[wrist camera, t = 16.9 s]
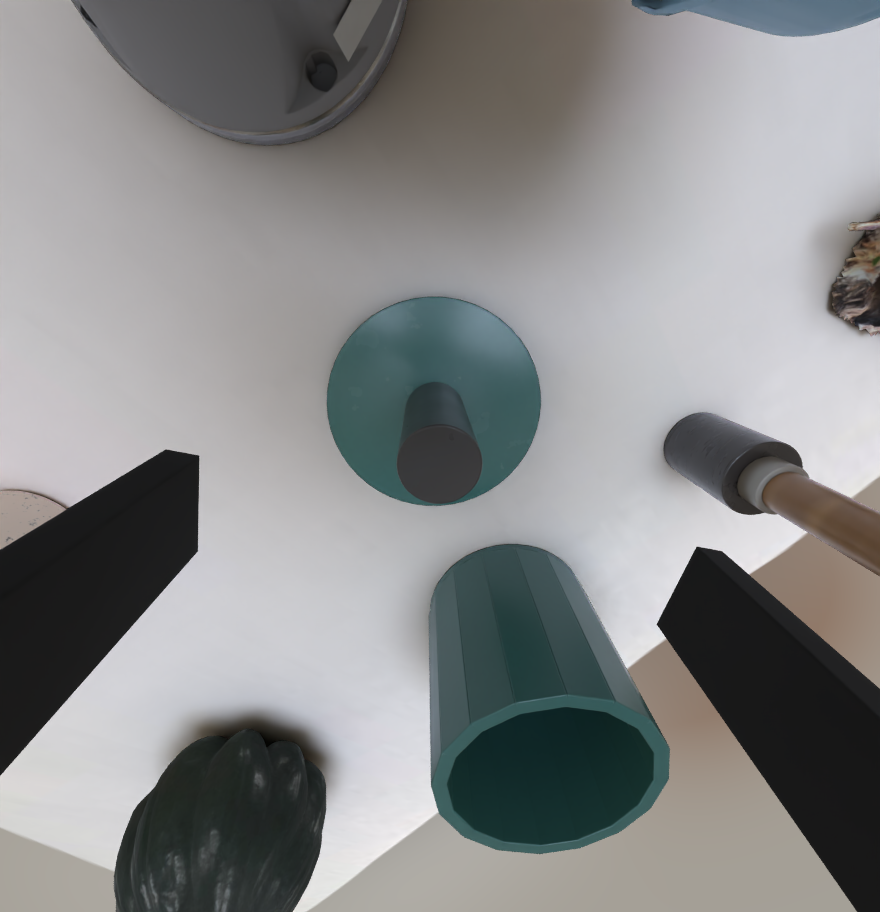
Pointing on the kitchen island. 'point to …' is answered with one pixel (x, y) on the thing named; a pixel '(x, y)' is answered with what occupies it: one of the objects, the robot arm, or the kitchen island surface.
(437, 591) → the tin
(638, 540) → the kitchen island surface
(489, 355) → the lid
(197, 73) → the robot arm
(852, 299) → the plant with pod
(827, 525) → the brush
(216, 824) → the squash
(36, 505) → the teacup with lid
